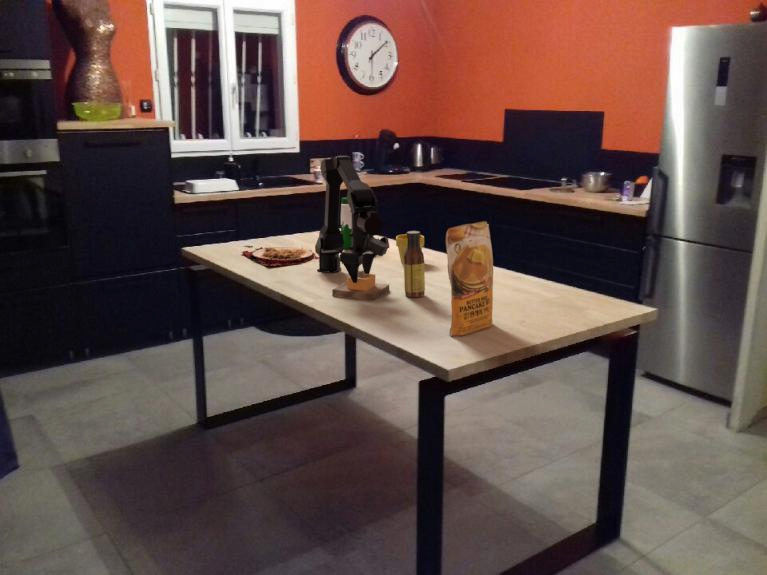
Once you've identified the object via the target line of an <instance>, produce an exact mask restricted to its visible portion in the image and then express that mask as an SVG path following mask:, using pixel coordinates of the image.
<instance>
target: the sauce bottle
mask: <svg viewBox="0 0 767 575" xmlns="http://www.w3.org/2000/svg"><path fill="white" fill-rule="evenodd" d="M406 234H407V239H408V244H407V249H406V251H405V253H404V264H403V273H404V275H403V276H404V278H403V279H404V281H403V282H404V283H403V284H404V294H405V296H406V297H407V298H417V299H418V298H421V297H424V296H425V292H426V291H425V290H426V282H425V280H426V278H425V274H426V273H425V256H424V253H423V250H421V248H420V235H421V232H420V231H417V230H410V231H407V232H406Z"/></svg>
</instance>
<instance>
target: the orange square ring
mask: <svg viewBox="0 0 767 575" xmlns="http://www.w3.org/2000/svg"><path fill="white" fill-rule="evenodd" d="M346 281H347V289H356V290H364V291H367V290H369V289H371V288H372V287H374V286H375V283H376V274H373V273H369V274H365V273H364V278H358V279H357V283H353V281H352V279H351V277H350V275H349V276H347V277H346Z"/></svg>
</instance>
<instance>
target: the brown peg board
mask: <svg viewBox="0 0 767 575" xmlns="http://www.w3.org/2000/svg"><path fill="white" fill-rule="evenodd" d="M358 278H364V270H359V271H358ZM331 291H332V294H331V296H333V297H339V296H340V297H341V298H347V297H348V299H354V300H355V299H356V300H357V299H358V300H366V301H373V302H374V301H377V300H378V299H380V298H381V297H382V296H384V295H385V294H386V293H388V292H390V284H388V283H387V284H386V283H379V282H378V283H377V282H375V286H374V287H372V288H371V289H369V290H367V291H364V290H356V289H347V280H346V281H345V282H343V283H341V284H339V285H337V286H336V287H334V288H332V290H331Z"/></svg>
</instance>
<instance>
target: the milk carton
mask: <svg viewBox="0 0 767 575" xmlns="http://www.w3.org/2000/svg"><path fill="white" fill-rule="evenodd" d="M350 210H351V209H350V206H349V204H348V201H347V196H346V197H342V198H341V203H340V231H341V233H342V234H343V240H344V246H343V250H349V247H350V246H352V237H349V233H351V232H352V220H351V214H352V213H351V212H350Z"/></svg>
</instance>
